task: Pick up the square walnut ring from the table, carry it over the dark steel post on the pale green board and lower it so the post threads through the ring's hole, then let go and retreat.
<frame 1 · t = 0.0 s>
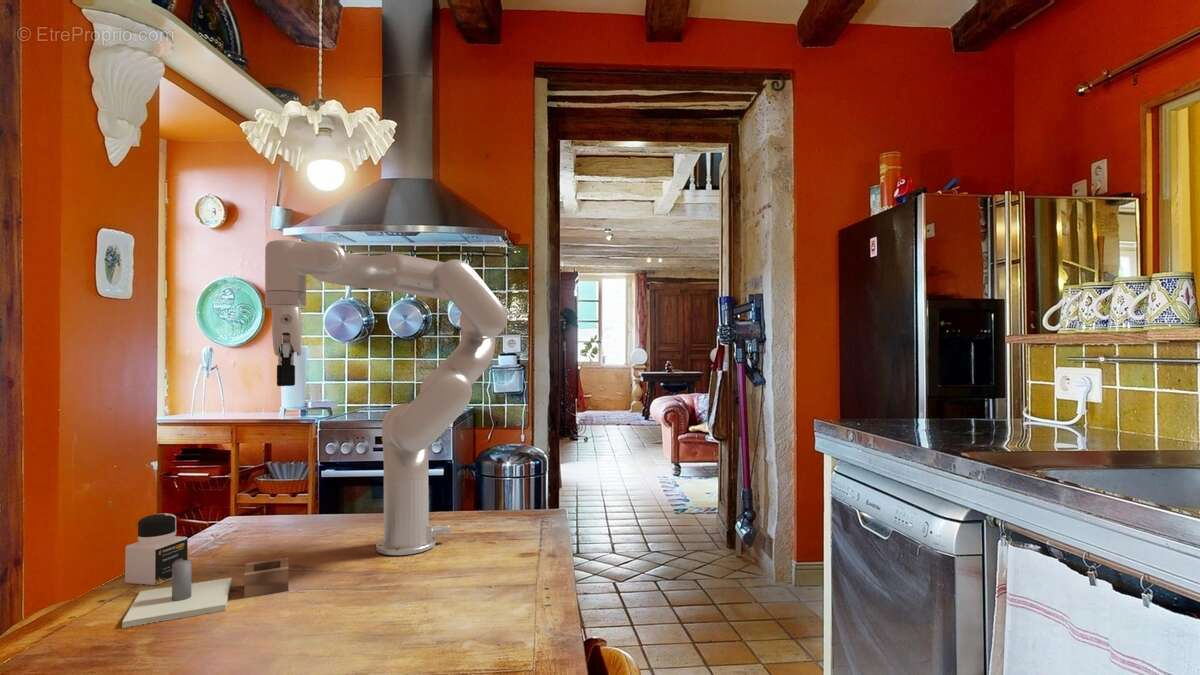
hand: (285, 384, 127), 37 cm above the table, tool pointing down, fingers open, 9 cm apart
walnut ring: (267, 587, 114), on the table
medicine bottle: (157, 579, 119), on the table
post stand: (181, 603, 107), on the table
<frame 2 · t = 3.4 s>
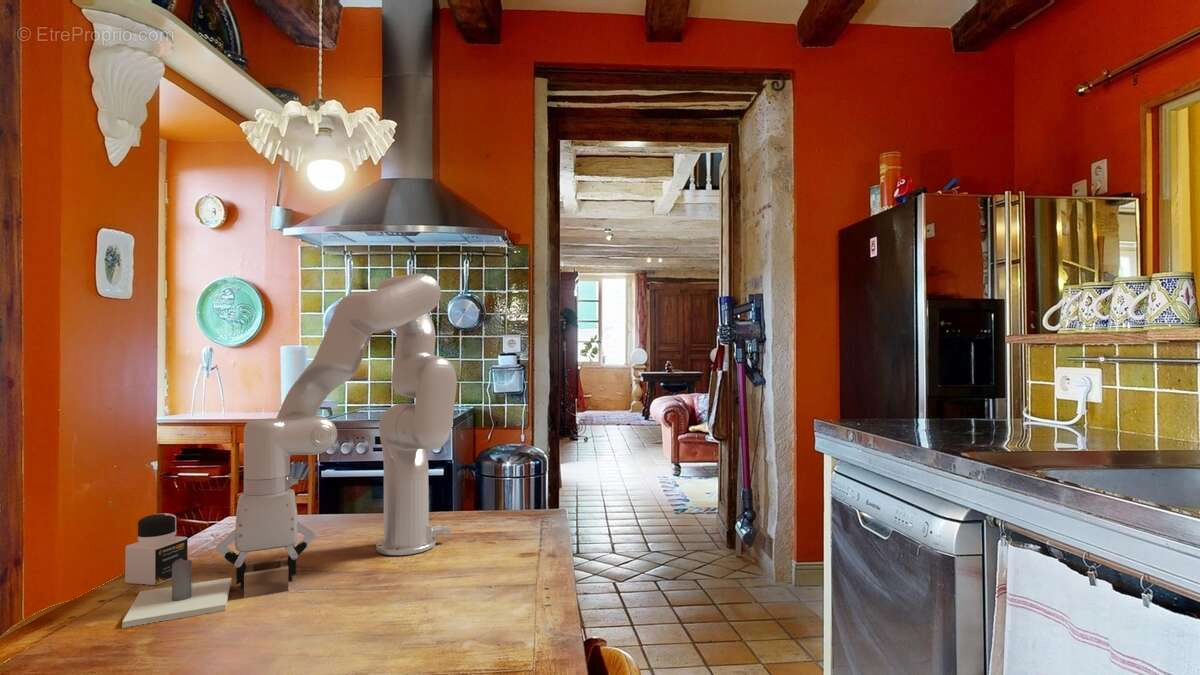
hand: (266, 582, 114), 1 cm above the table, tool pointing down, fingers closed on walnut ring, 7 cm apart
walnut ring: (266, 587, 114), on the table, touching gripper
everything else where it was.
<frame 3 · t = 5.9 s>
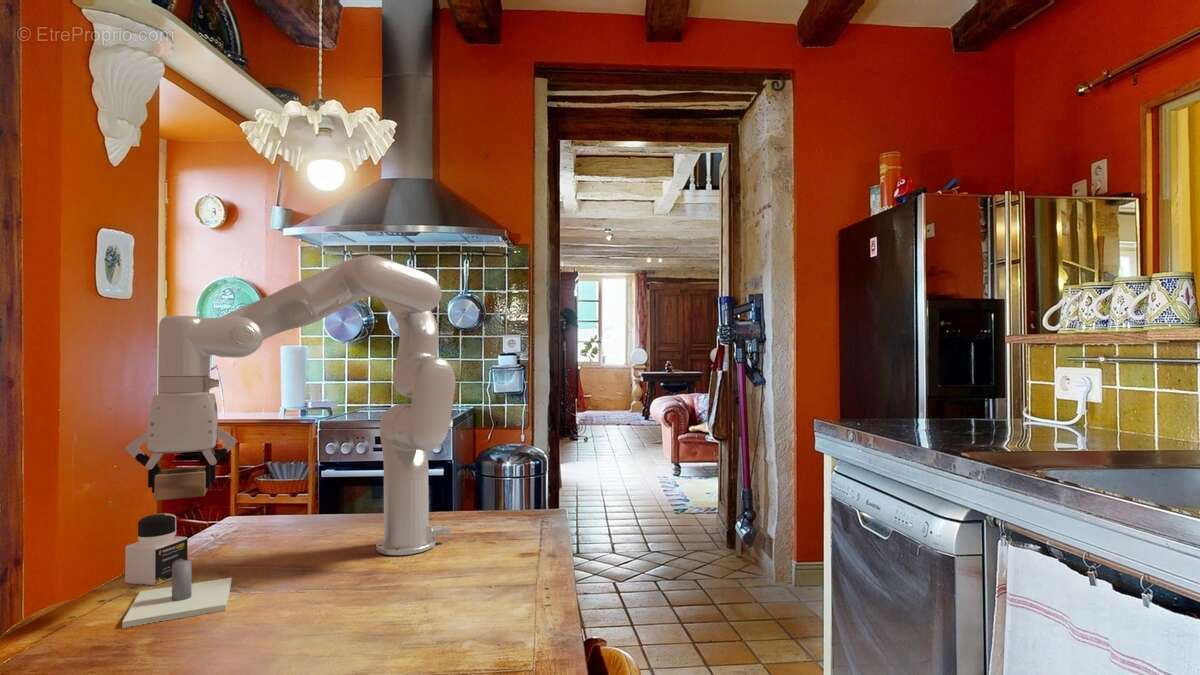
hand: (182, 488, 107), 20 cm above the table, tool pointing down, fingers closed on walnut ring, 7 cm apart
walnut ring: (182, 494, 107), point 19 cm above the table, touching gripper
everything else where it was.
when the fingers open (4 cm above the table, at t = 8.8 s): walnut ring drops 2 cm, resting on post stand.
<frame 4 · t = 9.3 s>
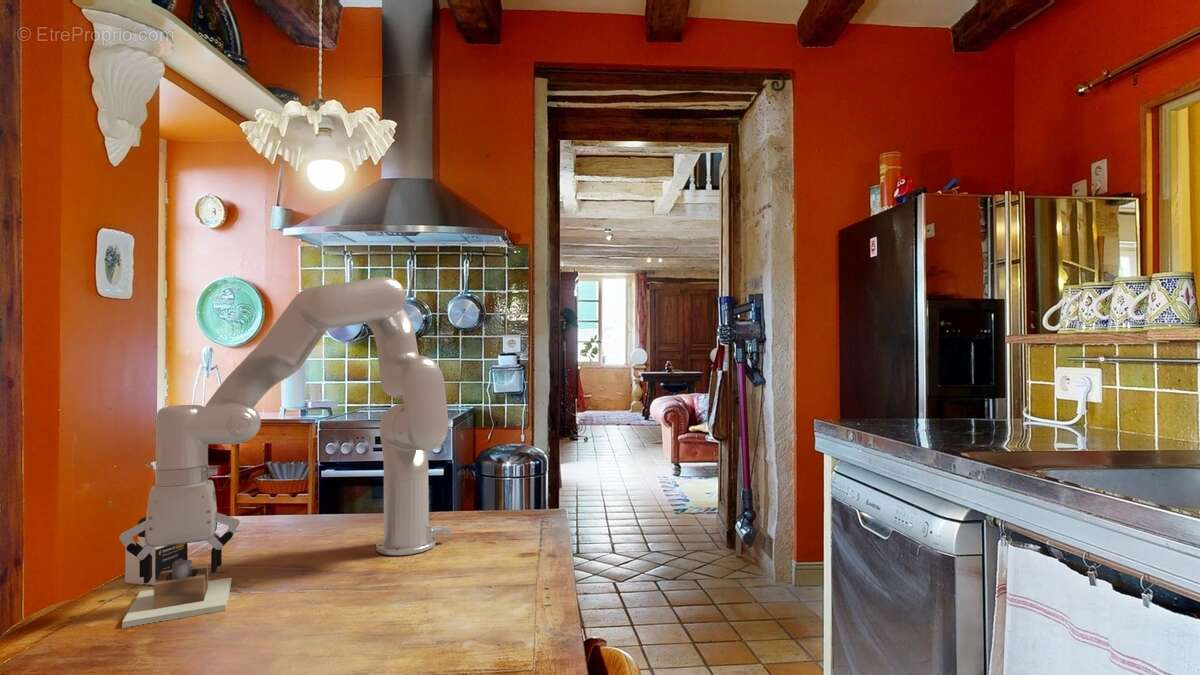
hand: (181, 575, 107), 5 cm above the table, tool pointing down, fingers open, 9 cm apart
walnut ring: (182, 597, 107), point 1 cm above the table, touching post stand
everything else where it was.
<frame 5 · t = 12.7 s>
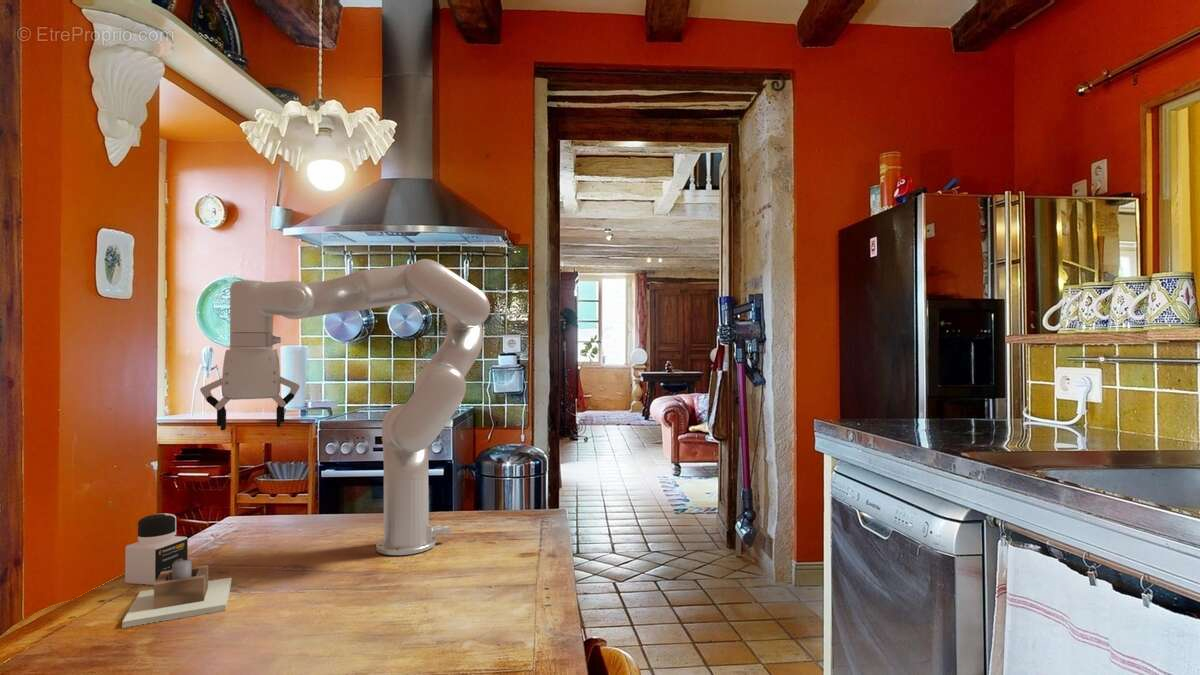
hand: (251, 427, 124), 28 cm above the table, tool pointing down, fingers open, 9 cm apart
nothing on the table moved.
at the end: walnut ring 0.1 cm off-centre on the post stand, point 1.0 cm above the post stand's base; walnut ring tilted 0°; the gripper is holding nothing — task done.
